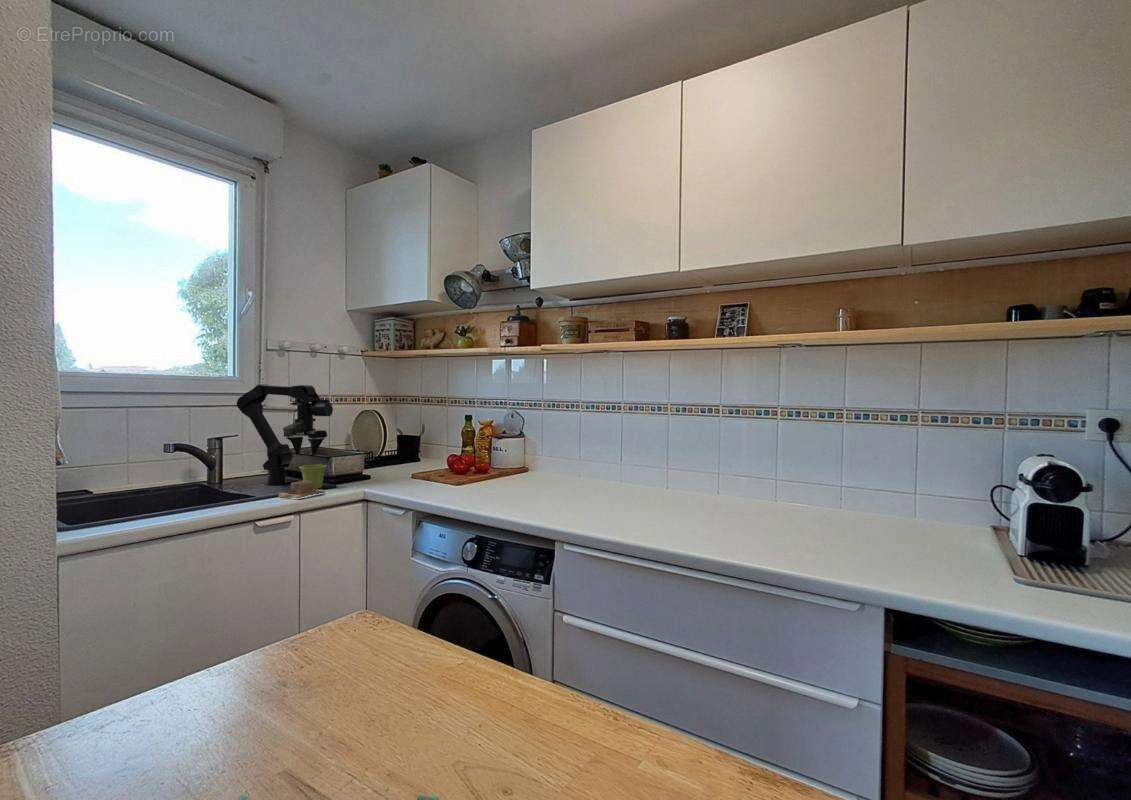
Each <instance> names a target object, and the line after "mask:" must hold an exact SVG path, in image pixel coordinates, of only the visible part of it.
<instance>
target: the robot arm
mask: <svg viewBox="0 0 1131 800" xmlns="http://www.w3.org/2000/svg"><path fill="white" fill-rule="evenodd" d="M316 391H317V390H316V389H315V387H314V386H313V385H311V384H310V385H308V384H306V385H304V384H300V385H299V384H297V385H292V386H283V385H282V386H281V385H271V384H265V383H264V384H263V383H262V384H257V385H255V386H254V387H253V388H252V389H250V390H249V391H247V392H245V393H244V394H243V395H242V396H240V397H239V398H238V399H237V401H236V407H237V408H238V410H239V411H240V413H242V414H243V415H244V416H246V417H247V418H249V420H250V422H251V423H252V425H253V426H254V428H255V430H256V431H257V433H258V435H259V436H260V438H261V440H262V442H263V444H264V445H265V447H266V456H267V460H266V461H264V463H263V464H262V468H263V470H264V471H267V482H264V483H265V484H264V485H268V484H271V485H270V486H279V485H284V484H283V483H285V484H288V483H287V482H288V481H287V480H286V468H290V467H289V466H290V464H291V463H292V460H293V450H292V449H290V446H289V444H288V443H284V444H282V443H281V442H280V440H279V439H278V437H277V435H276V434H275V432H274V430H273V428H272V427H271V425H270V424H269V422H268V420H267V418H266V416H265V415H264V413H263V409H264V407H263V403H264V401H266V398H267V396H268V395H275V396H287V397H291V398H293V399H295V400H294V401H293V402H291V405H292V406H296V410H297V411H296V413H297V415H296V416H297V417H296V418H295V419H294V420H293V423H291V424H288V425H286V426H283V427H282V430H283V437H285V439H287V440H289V441H290V442H291V444H292V446H293V449H294V452H295V454H296V455H299V454H300V453H301V449H302V444H303V440H304V436H305V437H308V438H307V440H308V442H309V443H310V450H311V451H310V452H311V456H313V457H314V456H316V453H317V451H318V450H319V448H320V446H321V444H322V443H323V441H324V440H325V439H326V438H328V432H327V431H326V430H321V429H317V428H314V422H316V419H317V418H314V417H331V416H332V414H333V412H334V407H333V405H332V403H331V401H330V399H322V398H321V397H320V396H319V394H318V393H317V392H316ZM316 429H317V430H316ZM278 484H279V485H278Z"/></svg>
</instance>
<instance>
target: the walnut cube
mask: <svg viewBox="0 0 1131 800" xmlns="http://www.w3.org/2000/svg"><path fill="white" fill-rule="evenodd" d="M311 492H313V482H310V481H303V480H300V481H295V482H290V494H295V495H301V494H306V493H311Z"/></svg>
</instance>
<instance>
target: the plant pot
mask: <svg viewBox="0 0 1131 800" xmlns="http://www.w3.org/2000/svg"><path fill="white" fill-rule="evenodd" d="M326 468H327V464H325V465H324V464H307V465H301V466H299V469H300V472H301V475H302V481H310V482H313V489H318V490H319V489H322V488H321V487H323V481H324V475H325V471H326Z"/></svg>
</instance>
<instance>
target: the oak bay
mask: <svg viewBox="0 0 1131 800" xmlns="http://www.w3.org/2000/svg"><path fill="white" fill-rule="evenodd" d="M319 493H325V494H326V490H324V489H319V488H318V489H313V492H311V493H306V494H301V495H295V494H291V493H286V492H278V498H279V497H283V498H282V499H287V498H297V499H298V498H301V497H305V496H308V495H313V494H319Z"/></svg>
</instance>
